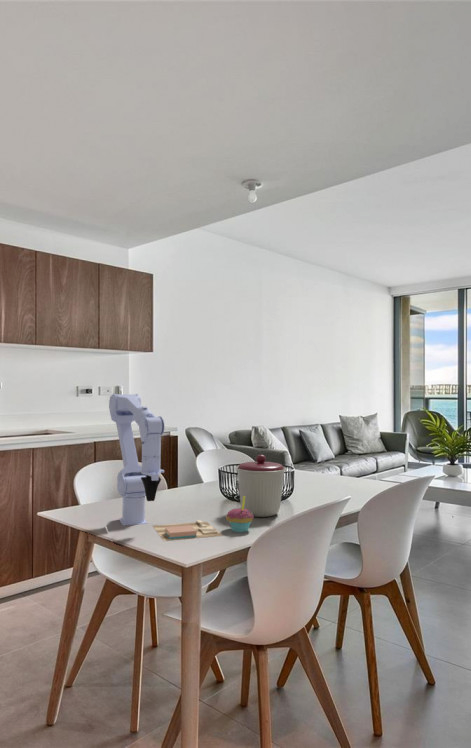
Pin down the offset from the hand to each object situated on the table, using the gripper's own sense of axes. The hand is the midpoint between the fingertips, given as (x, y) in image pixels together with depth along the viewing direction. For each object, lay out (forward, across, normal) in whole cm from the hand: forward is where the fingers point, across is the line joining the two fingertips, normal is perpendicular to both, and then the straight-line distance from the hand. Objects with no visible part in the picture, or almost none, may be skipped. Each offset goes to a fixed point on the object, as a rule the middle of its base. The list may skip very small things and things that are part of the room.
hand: (150, 500), depth 163 cm
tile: (+8, -3, -8) cm, 12 cm away
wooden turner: (+9, -1, -17) cm, 19 cm away
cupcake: (+10, -6, -27) cm, 29 cm away
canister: (+10, +14, -42) cm, 45 cm away
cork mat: (+10, -2, -11) cm, 15 cm away
